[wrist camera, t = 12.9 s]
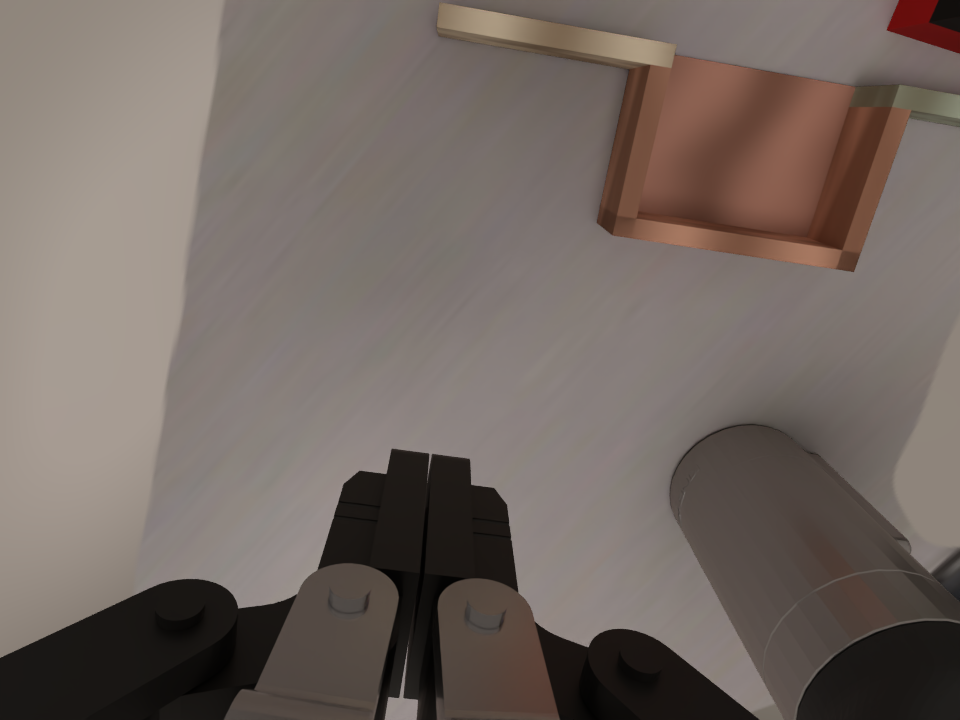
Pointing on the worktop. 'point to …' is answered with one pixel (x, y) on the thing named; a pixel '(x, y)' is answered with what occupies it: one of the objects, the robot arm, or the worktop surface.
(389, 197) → the worktop surface
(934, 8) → the puzzle toy
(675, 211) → the open sectioned tray
